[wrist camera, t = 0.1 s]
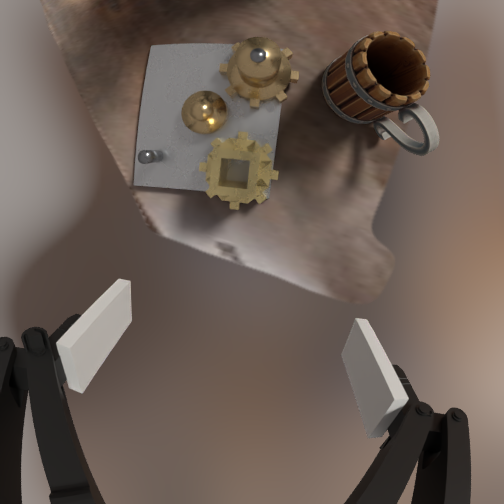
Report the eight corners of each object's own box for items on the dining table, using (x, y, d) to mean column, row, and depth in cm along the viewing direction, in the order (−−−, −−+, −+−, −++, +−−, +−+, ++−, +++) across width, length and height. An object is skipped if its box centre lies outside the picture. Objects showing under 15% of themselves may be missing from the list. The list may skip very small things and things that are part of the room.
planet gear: (206, 129, 37) (192, 123, 30) (282, 137, 37) (287, 133, 30) (198, 202, 40) (184, 213, 33) (272, 211, 41) (274, 224, 33)
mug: (305, 74, 35) (327, 36, 21) (363, 49, 33) (404, 11, 19) (360, 166, 39) (407, 175, 25) (413, 137, 37) (472, 137, 23)
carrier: (154, 44, 34) (129, 21, 24) (299, 50, 34) (309, 24, 25) (136, 184, 41) (106, 193, 32) (280, 199, 41) (285, 211, 32)
